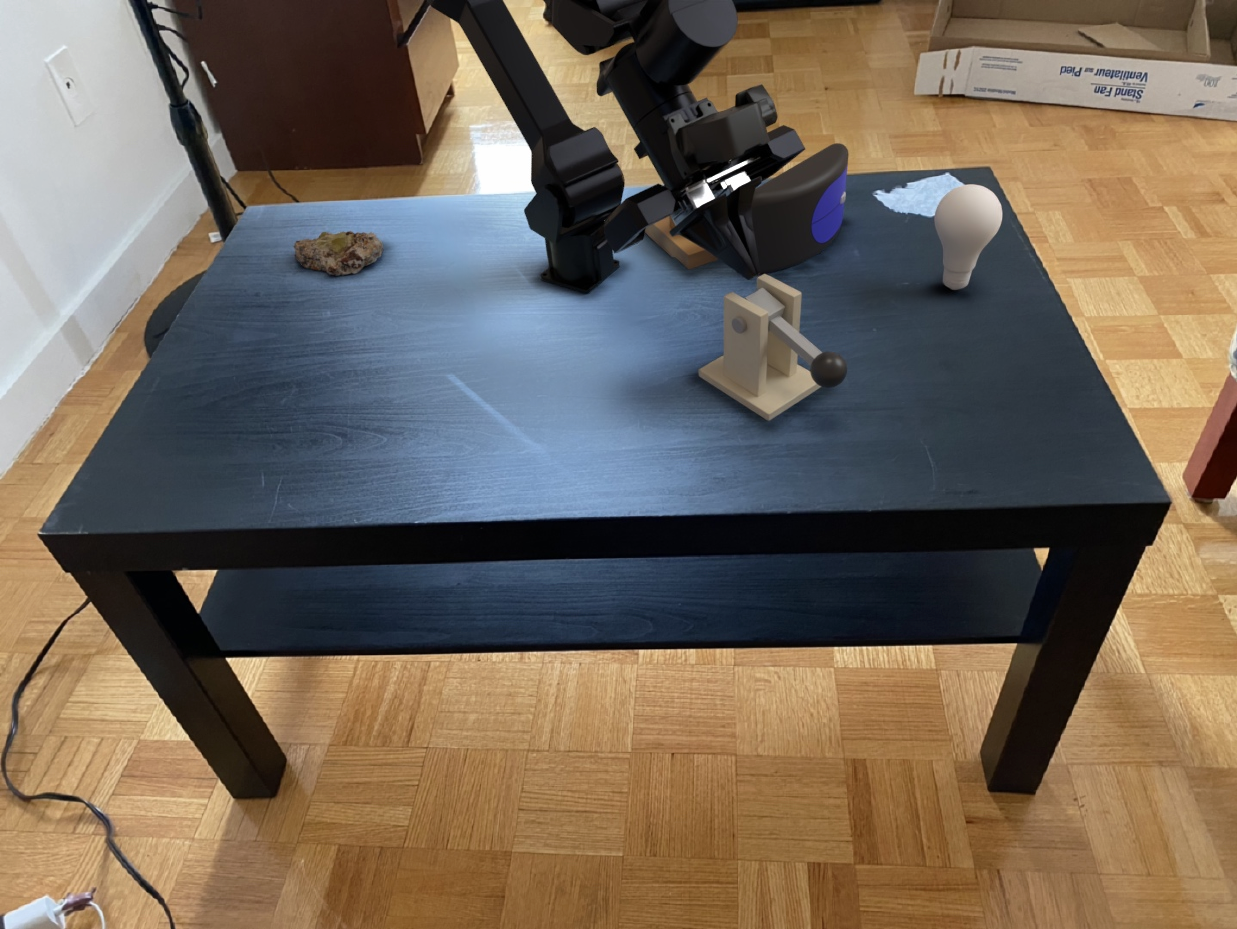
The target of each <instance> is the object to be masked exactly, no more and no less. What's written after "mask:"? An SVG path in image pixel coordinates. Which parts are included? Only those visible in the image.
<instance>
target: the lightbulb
mask: <svg viewBox="0 0 1237 929" xmlns="http://www.w3.org/2000/svg"><path fill="white" fill-rule="evenodd" d="M1002 208H1003V207H1002V204H1001V202H1000V200H999V198H998V196H997V195H996V194H995V193H994V192H993V191H992V190H991V189H989V188H987V187H985V186H983V185H980V184H972V183H971V184H963V185H960V186H957V187H954V188H952V189H951V190H950V191H948V192H947V193H946V194H945V195H944V196H943V197H942V198H941V199H940V201H939V202H938V204H937V206H936V209H935V211H934V217H933V219H934V228H935V231H936V234H937V237H938V238H939V241H940V243H941V247H942V266H943V273H942V283H943V285H944V286H945V287H947V288H949V289H950V290H952V291H957V290H962V289H965V288H966V287H967V286H968V285H969V283H970V279H971V276H972V272H973V270H974V269H975V268H976V265H977V261H978V259H979V256H980V254H981V253H982V252H983V250H984V248H985V247H987V245H988V244H989V243H990V242H991V241H992V240H993V238H994V237H995V236H996V235H997V233H998V232H999V230H1000V227H1001V224H1002V222H1003V209H1002Z"/></svg>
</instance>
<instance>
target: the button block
mask: <svg viewBox="0 0 1237 929" xmlns="http://www.w3.org/2000/svg"><path fill="white" fill-rule="evenodd" d="M675 226H676V225H675V223H674V221H673V220H672V217H671V216H669V217H666V218H664V219H662V220H660V221H658V222H656V223H654V224H652V225H650V226H648V227H646V229H645V234H646V235H648V237H649V238H650V239H651V240H653V241H654V242H655V243H656V244H657V245H658V246H659V247H660V248H661V249H662V250H663V251H665V252H666V253H667V254H668V255H669V256H670V257H671V258H672V259H673V258H675V259H676V260H677V261H678V262H680V263H681V265H683V266H684V267H685V268H686V269H687V270H691V269H695V268H698V267H700V266H704V265H706V264H710V263H712V262H715V261H718V260H719V259H718V258H717V257H715V256H714V255H712V254H711V253H709V252H708V251H706V250H705V249H703V248H701V247H700V246H698V245H696V244H694V243H693V242H691V241H689V240H688V239H686V238H684V237H683V236H681V235H676V236H674V237H672V236H671V235H670V233H669V231H671V230H672V229H673V228H674V227H675Z"/></svg>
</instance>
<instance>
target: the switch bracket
mask: <svg viewBox="0 0 1237 929" xmlns="http://www.w3.org/2000/svg"><path fill="white" fill-rule="evenodd" d="M761 288H764V289H765V290H766V291H767V292H769V293H770V294H771V295H772V296H773V297H774V298H776V299H777V300H778V301H779V302H780V303H781V304H783V305H784V306H785V308H784V312H783V315H782V318H783V319H784V320H785V321H786V322H787V323H789V324H790V325H791V326H792V327H793V328H794V329H796V330H797V331H798V332H799V333H800V329H801V328H800V326H801V325H800V324H801V311H802V297H803V296H802V294H803V293H802V291H800V290H798V289H796V288H794V287H792V286H790V285H788V284H786V283H784V282H783V281H780V280H778V279H776V278H775V277H773V276H771V275H769V274H768V273H764V274H760V275H758V276H756V291H758V290H759V289H761ZM798 357H799V355H798V354H797V353H795V352H794V351H793V350H792V349H791V348H790V347H789V346H787V345H786V344H785V343H784V342H783V341H782V340H781V339H779V338H778V337H777V336H776V335H775V334H774V333H773V332H771V331H769V332H768V311H766V310H764V309H762V308H760V307H759V306H757V305H755V304H753V303H751V302H749V301H748V300H746V299H745V297H743V296H740V295H739V294H737V293H735V292H733V291H730V292H729V293H727V294H725V295H724V296H723V354H722V355H721V356H719V357H717V358H716V359H714V360H713V361H710V362H709V363H707V364H705V365H704V366H702V367H701V368H699V369H698V377H700V379H703V380H704V381H706V382H707V383H709V384H710V385H711V386H713V387H715V388H716V389H718V390H720V392H722V393H724V394H726V395H727V396H729V397H730V398H732V400H733V399H734V400H735V401H736V402H738V403H740V404H741V405H743V406H744V407H746V408H747V409H749V410H751V412H754V413H755V414H757V415H758V416H760V417H761V418H763V419H764V420H766V421H767V422H769V421H771V420H773V419H775V418H776V417H777V416H779V415H780V414H782V413H784V412H785V411H787V410H788V409H789V408H792V407H793V406H794V405H795V404H797V403H799V402H801V401H802V400H804V399H805V398H806V397H809V395H811V394H813V393H814V392H816V391H817V390H819V389H821V388H822V387H821V386H819V385H818V384H816V383H815V382H814V380H813V379H812V377H811V373H810V370H808V369H806V368H805V367H803V366H801V365H799V364H798V359H799V358H798Z"/></svg>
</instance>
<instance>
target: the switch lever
mask: <svg viewBox="0 0 1237 929" xmlns="http://www.w3.org/2000/svg"><path fill="white" fill-rule="evenodd" d="M744 299H746V300H748V301H749V302H751V303H753V304H755V305H757V306H759V307H760V308H762V309H764V310H766V311H768V332H769V331H771V332H773V333H774V334H775V335H776V336H777V337H778V338H779V339H781V340H782V341H783V342H784V343H785V344H786V345H787V346H789V347H790V348H791V349H792V350H793V351H794V352H795V353H797V354H798V357H800V358H801V359H802V360H803V361H804V362H805V363H807V364H808V365H809V366H810V367H809V371H810V373H811V377H812V379H813V380H814V382H815V383H816V384H818V385H819V386H821V387H820V388H827V389H831V388H835V387H838V386H839V385H841V384H842V383H843V381H844V380H845V379H846V377H847V375H848V374H847V373H848V365H847V362H846V360H845V358H844V357H843V356H841V355H840V353H837V352H835V351H823V352H822V351H821V350H820V349H819V348H818V347H817V346H816V345H815V344H813V343H812V342H811V341H810V340H809V339H808V338H806V337H805V336H804V335H803V334H802V333H800V331H799V332H798V331H797V330H796V329H794V328H793V327H792V326H791V325H790V324H789V323H787V322H786V321H785V320H784V319H783V318H782V315H783V312H784V308H785V306H784V305H783V304H781V303H780V302H779V301H778V300H777V299H776V298H774V297H773V296H772V295H771V294H770V293H769V292H767V291H766V290H765V289H764V288H761V289H759V290H758V291H757V290H755V291H754V292H752V293H750V294H749V295H747V296H745V297H744Z"/></svg>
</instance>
